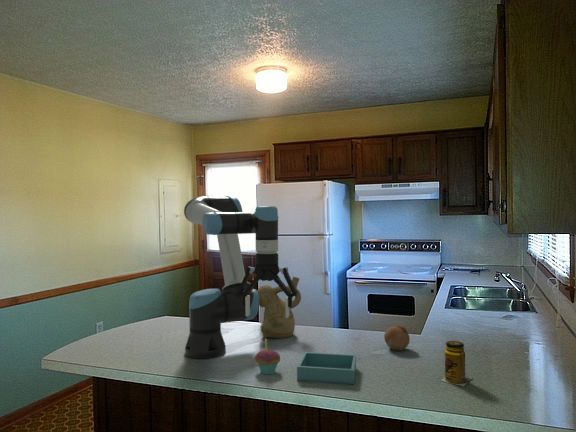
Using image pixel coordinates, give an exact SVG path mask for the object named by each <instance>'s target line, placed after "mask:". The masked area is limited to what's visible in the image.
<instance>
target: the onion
mask: <svg viewBox="0 0 576 432" xmlns="http://www.w3.org/2000/svg"><path fill="white" fill-rule="evenodd" d="M383 338H384V342H385V343H386V346H387V347H388V348H389V349H390V348H391V349H390V350H393V351H395V350H398V351H397V352H399V350H400V351H402V350H405V349H406V348H407V347H408V346H409V344H410V340H411V339H410V334H409V332H408V331H407V329H406V328H405V326H403V325H396V326H395V325H394V326H393V325H392V326H390V327H388V328H387V329H386V330H385V332H384V337H383Z"/></svg>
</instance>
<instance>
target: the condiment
mask: <svg viewBox="0 0 576 432" xmlns="http://www.w3.org/2000/svg"><path fill="white" fill-rule="evenodd" d="M472 379H473V377H471V376H470V377H468V376H466V351H465V344H464V343H463V342H462V341H458V340H448V341H446V342H445V350H444V377H443V378H442V379H440V380H439V381H440V382H444V383H448V384H451V385H455V386H462V387H465V386H466V385H467V384H468V383H470V381H471V380H472Z"/></svg>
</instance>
